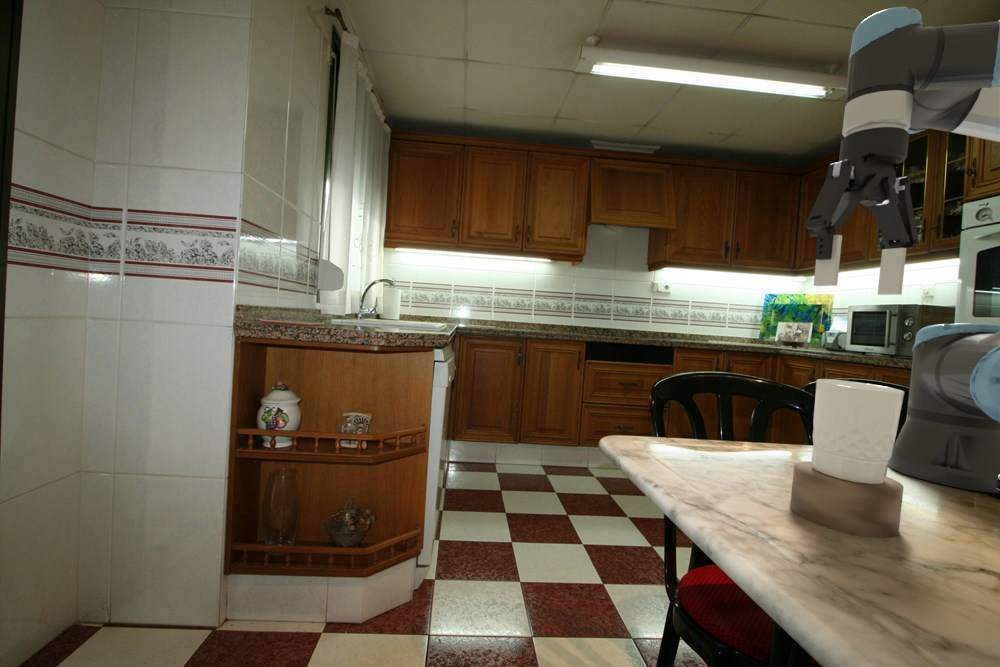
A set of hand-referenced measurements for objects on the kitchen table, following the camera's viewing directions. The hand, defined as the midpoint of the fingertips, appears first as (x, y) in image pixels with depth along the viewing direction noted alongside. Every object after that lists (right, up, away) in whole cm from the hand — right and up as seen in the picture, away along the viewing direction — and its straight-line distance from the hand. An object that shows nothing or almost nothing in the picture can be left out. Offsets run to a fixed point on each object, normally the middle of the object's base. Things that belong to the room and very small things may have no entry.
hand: (858, 290), depth 70 cm
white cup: (-11, -22, -14) cm, 28 cm away
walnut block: (-11, -27, -13) cm, 32 cm away
